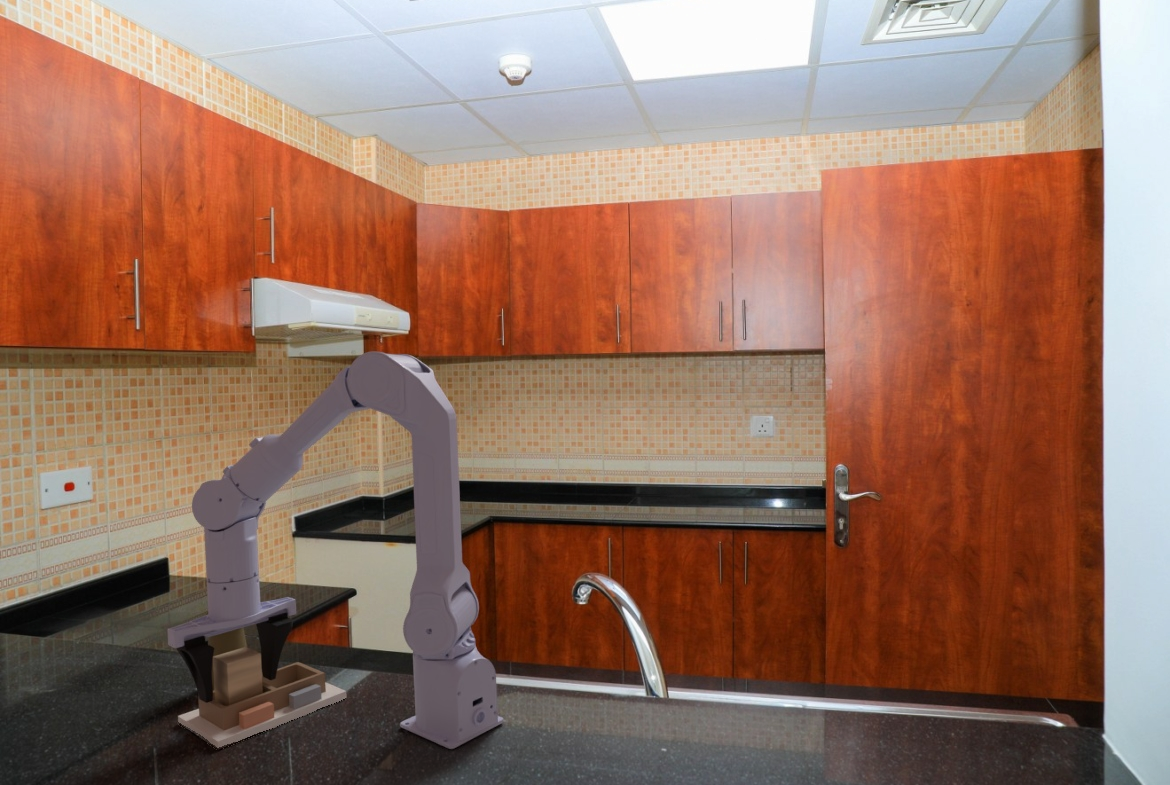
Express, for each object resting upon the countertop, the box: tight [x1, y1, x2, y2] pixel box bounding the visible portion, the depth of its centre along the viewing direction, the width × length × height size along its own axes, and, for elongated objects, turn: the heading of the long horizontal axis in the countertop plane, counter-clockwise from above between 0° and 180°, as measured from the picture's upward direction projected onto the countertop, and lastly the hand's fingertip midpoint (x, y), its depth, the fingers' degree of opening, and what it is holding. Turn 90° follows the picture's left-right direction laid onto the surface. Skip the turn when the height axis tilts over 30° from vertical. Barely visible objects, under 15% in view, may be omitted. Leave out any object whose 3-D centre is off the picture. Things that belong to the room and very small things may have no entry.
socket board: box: [177, 661, 347, 748], centre depth 90 cm, size 11×16×3 cm
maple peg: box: [213, 646, 263, 706], centre depth 88 cm, size 4×4×7 cm
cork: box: [205, 611, 248, 691], centre depth 99 cm, size 6×6×11 cm
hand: (238, 688), depth 88 cm, fingers open, 7 cm apart
